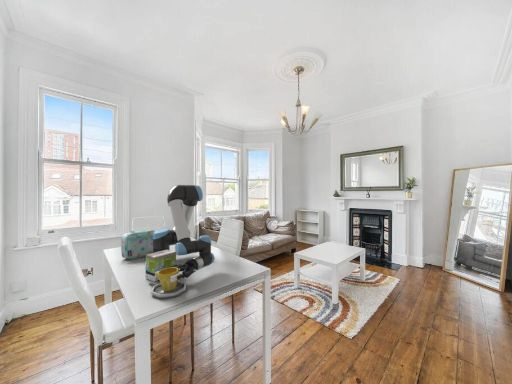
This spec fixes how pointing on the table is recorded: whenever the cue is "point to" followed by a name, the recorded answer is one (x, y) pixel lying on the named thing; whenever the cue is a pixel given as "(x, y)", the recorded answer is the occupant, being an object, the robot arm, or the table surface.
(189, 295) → the table surface
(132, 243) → the lunch box
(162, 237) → the robot arm
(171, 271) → the plant pot
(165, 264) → the tea box
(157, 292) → the octagonal handled pan
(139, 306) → the table surface
